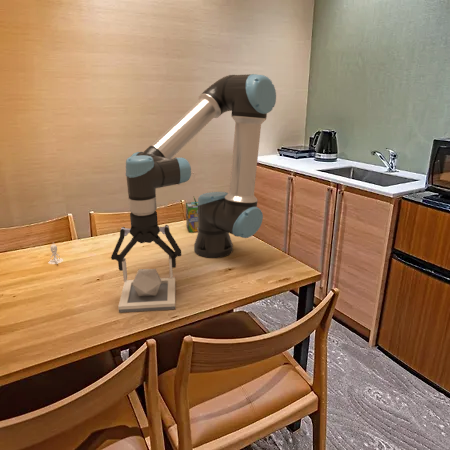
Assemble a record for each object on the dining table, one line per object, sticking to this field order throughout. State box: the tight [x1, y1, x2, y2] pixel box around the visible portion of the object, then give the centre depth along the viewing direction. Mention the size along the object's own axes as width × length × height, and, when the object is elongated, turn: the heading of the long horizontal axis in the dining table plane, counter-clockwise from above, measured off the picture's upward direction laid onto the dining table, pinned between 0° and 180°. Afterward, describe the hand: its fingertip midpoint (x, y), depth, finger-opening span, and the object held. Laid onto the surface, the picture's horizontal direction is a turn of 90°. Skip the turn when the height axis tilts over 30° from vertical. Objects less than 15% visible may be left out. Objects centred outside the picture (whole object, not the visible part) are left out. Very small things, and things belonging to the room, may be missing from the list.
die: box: [132, 268, 162, 296], centre depth 118 cm, size 8×9×10 cm
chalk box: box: [185, 196, 198, 233], centre depth 174 cm, size 9×9×15 cm
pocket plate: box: [117, 277, 176, 313], centre depth 119 cm, size 16×16×2 cm
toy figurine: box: [47, 243, 64, 265], centre depth 141 cm, size 5×8×7 cm, turn 31°
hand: (148, 278), depth 118 cm, fingers open, 13 cm apart
